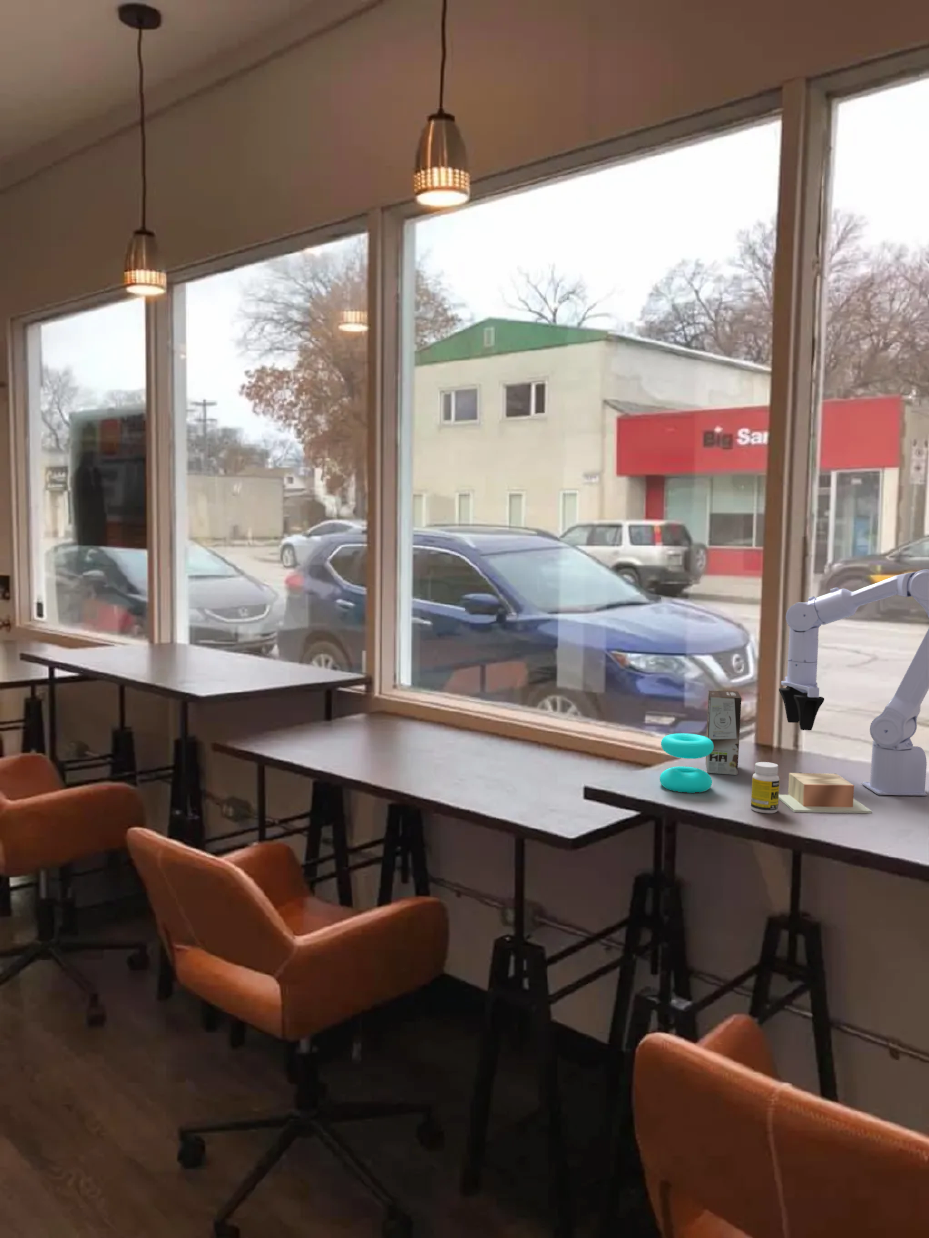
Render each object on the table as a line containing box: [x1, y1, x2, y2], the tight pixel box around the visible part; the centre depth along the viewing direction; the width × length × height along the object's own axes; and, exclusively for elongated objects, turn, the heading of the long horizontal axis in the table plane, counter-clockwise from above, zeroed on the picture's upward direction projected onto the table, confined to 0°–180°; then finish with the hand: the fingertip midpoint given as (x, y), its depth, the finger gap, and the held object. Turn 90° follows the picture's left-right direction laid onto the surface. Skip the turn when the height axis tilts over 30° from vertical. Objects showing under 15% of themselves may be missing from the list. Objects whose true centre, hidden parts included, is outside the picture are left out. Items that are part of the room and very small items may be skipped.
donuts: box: [659, 732, 714, 794], centre depth 193 cm, size 10×10×10 cm
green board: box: [778, 794, 873, 814], centre depth 183 cm, size 14×10×1 cm
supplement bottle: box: [750, 761, 780, 814], centre depth 179 cm, size 5×5×8 cm
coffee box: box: [705, 690, 742, 776], centre depth 208 cm, size 9×6×16 cm
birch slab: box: [787, 772, 855, 807], centre depth 185 cm, size 9×4×8 cm
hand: (799, 726), depth 204 cm, fingers open, 7 cm apart
